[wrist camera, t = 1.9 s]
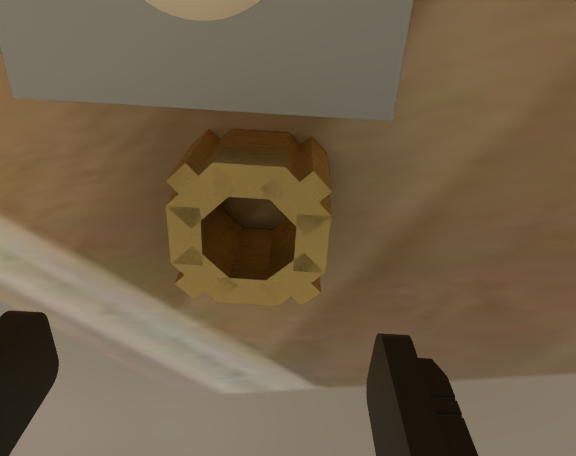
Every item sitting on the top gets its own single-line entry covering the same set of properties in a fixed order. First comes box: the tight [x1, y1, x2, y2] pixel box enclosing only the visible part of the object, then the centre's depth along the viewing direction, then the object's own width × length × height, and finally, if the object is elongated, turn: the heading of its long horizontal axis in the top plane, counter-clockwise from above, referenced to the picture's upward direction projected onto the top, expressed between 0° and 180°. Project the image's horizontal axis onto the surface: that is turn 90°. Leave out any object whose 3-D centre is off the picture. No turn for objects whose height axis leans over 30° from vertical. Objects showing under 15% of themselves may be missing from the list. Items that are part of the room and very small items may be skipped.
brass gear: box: [166, 129, 332, 306], centre depth 17 cm, size 6×6×4 cm
